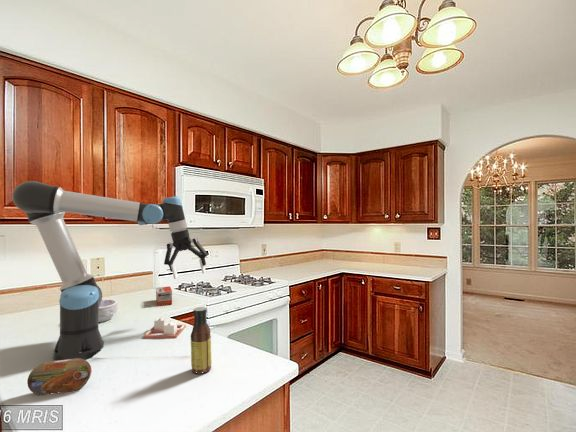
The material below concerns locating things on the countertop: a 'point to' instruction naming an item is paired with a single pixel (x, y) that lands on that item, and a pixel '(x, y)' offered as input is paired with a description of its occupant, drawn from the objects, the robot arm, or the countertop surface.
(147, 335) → the red compartment tray
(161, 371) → the countertop surface
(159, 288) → the medicine box
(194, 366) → the sauce bottle
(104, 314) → the paper bowls
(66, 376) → the tin
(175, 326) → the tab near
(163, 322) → the white toy block
